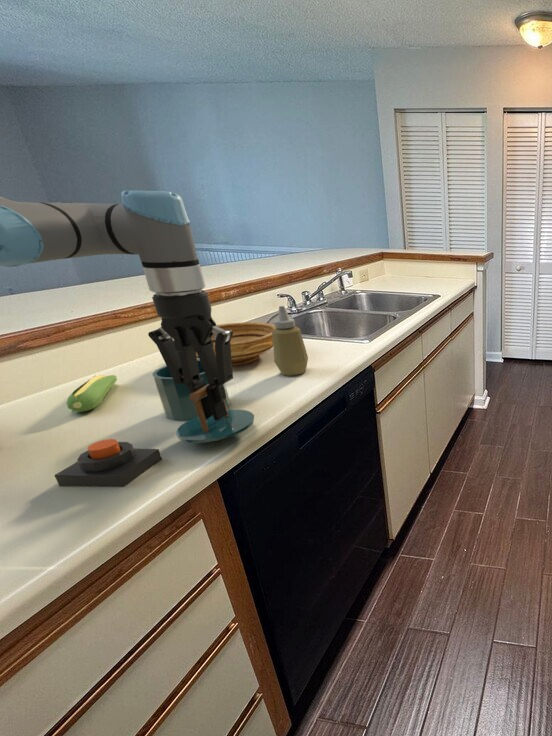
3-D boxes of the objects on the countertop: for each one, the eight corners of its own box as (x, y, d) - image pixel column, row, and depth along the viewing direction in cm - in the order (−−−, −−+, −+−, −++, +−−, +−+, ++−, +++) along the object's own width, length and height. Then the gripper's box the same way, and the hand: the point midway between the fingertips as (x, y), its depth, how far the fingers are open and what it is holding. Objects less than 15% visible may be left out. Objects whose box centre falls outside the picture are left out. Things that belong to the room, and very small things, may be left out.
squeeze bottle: (316, 371, 115) (305, 305, 108) (288, 380, 108) (275, 311, 101) (299, 365, 119) (287, 301, 112) (270, 373, 112) (256, 306, 105)
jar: (152, 420, 87) (137, 378, 83) (190, 398, 97) (179, 359, 94) (208, 421, 87) (196, 379, 83) (240, 398, 97) (231, 360, 94)
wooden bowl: (307, 356, 126) (303, 330, 123) (224, 382, 106) (216, 352, 103) (247, 341, 139) (241, 317, 135) (162, 361, 119) (153, 334, 116)
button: (84, 459, 67) (80, 450, 66) (104, 447, 70) (100, 438, 69) (107, 459, 67) (103, 450, 66) (126, 448, 70) (123, 438, 70)
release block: (59, 486, 66) (49, 465, 65) (104, 459, 74) (96, 439, 72) (124, 487, 66) (115, 466, 65) (162, 459, 74) (155, 439, 72)
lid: (160, 445, 75) (144, 399, 71) (206, 414, 86) (194, 373, 83) (231, 446, 75) (218, 400, 71) (267, 414, 86) (258, 373, 83)
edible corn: (64, 419, 87) (56, 398, 85) (98, 384, 103) (92, 367, 101) (97, 414, 89) (89, 394, 87) (125, 381, 105) (119, 364, 103)
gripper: (237, 288, 74) (264, 408, 83) (152, 287, 74) (189, 407, 83) (209, 296, 67) (242, 426, 76) (115, 295, 67) (160, 425, 76)
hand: (214, 416), depth 80 cm, fingers closed on lid, 2 cm apart
